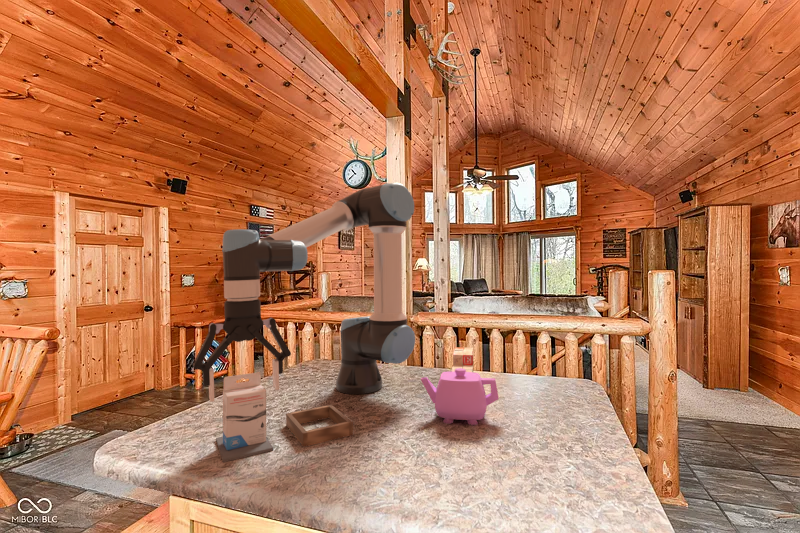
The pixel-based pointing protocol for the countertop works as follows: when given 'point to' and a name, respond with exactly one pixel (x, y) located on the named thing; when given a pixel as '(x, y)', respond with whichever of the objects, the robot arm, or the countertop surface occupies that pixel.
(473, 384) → the teapot
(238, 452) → the rubber mat
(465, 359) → the stack of blocks
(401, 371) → the countertop surface
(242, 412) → the ink box
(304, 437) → the walnut frame
